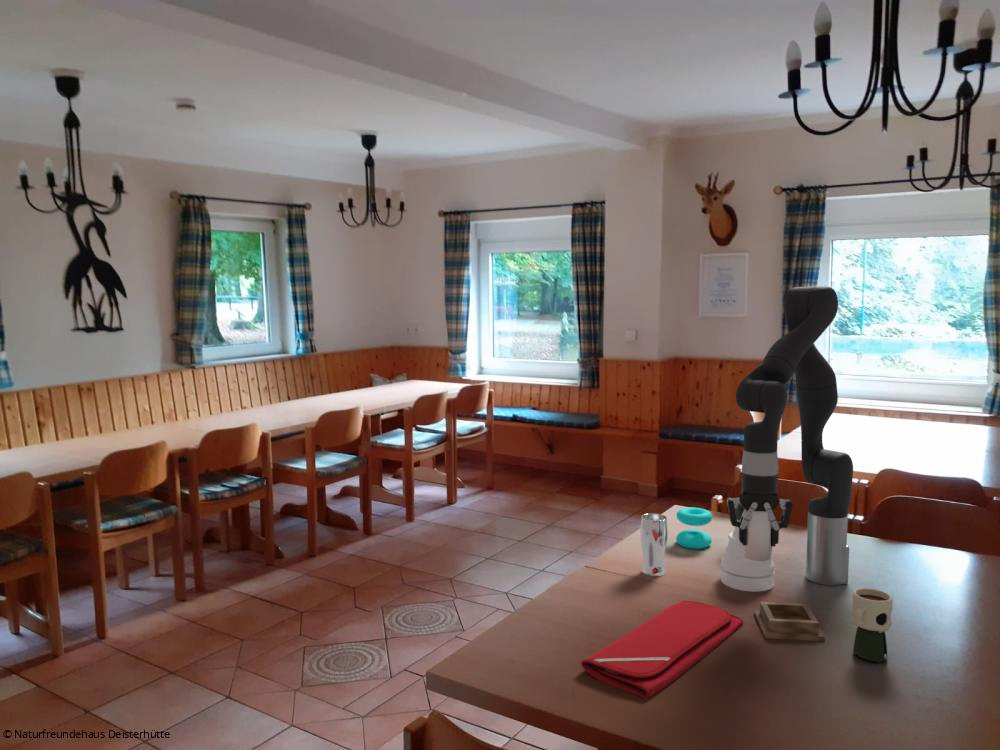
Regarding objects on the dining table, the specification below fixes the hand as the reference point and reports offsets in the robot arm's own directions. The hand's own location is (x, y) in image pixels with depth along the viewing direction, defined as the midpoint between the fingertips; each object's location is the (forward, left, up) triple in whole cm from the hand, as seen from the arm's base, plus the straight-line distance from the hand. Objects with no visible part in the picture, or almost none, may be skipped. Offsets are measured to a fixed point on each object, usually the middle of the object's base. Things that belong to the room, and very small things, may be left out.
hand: (758, 544), depth 168 cm
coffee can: (-8, -46, -17) cm, 50 cm away
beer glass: (+21, -26, -17) cm, 38 cm away
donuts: (+8, -50, -17) cm, 54 cm away
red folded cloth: (+21, +16, -18) cm, 32 cm away
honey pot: (-2, -22, -17) cm, 28 cm away
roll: (0, -1, -3) cm, 3 cm away
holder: (-6, +4, -17) cm, 19 cm away
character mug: (-19, +16, -17) cm, 30 cm away
